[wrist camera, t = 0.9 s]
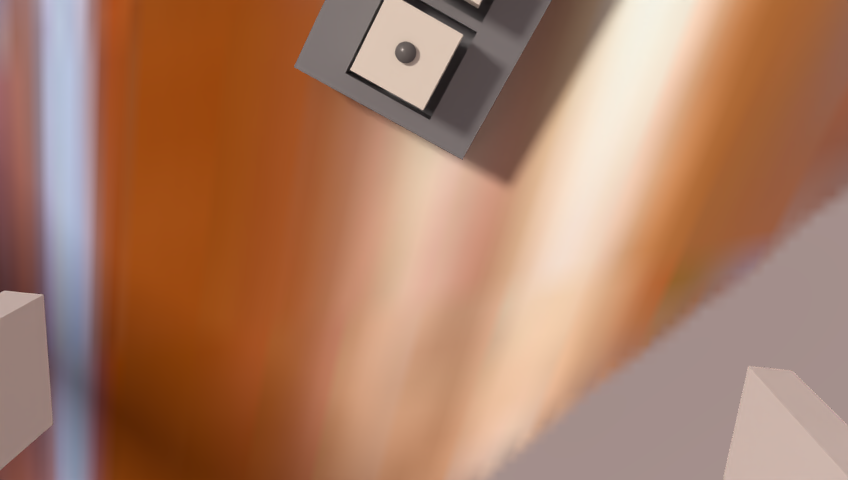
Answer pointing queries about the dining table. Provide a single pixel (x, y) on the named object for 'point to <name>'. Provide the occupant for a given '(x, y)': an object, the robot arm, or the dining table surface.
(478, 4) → the cream square block
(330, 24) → the grey dice tray
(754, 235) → the dining table surface
